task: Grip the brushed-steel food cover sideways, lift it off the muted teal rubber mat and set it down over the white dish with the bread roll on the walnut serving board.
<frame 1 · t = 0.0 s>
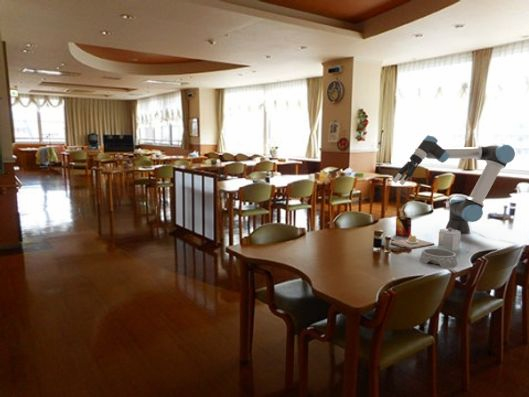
hand: (397, 183, 252), 36 cm above the table, tool tilted 35°, fingers open, 13 cm apart
walnut board: (412, 244, 235), on the table
dog bowl: (438, 262, 202), on the table
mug: (405, 236, 257), on the table
steel cover: (449, 238, 222), on the teal mat
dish: (412, 238, 234), on the walnut board, point 4 cm above the table
teal mat: (448, 249, 223), on the table
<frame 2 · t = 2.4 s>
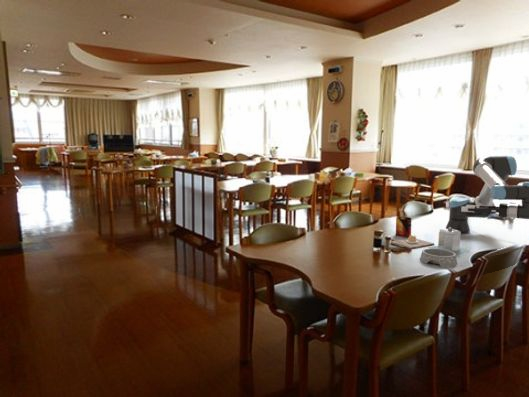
hand: (463, 208, 217), 25 cm above the table, tool horizontal, fingers open, 13 cm apart
nothing on the table moved.
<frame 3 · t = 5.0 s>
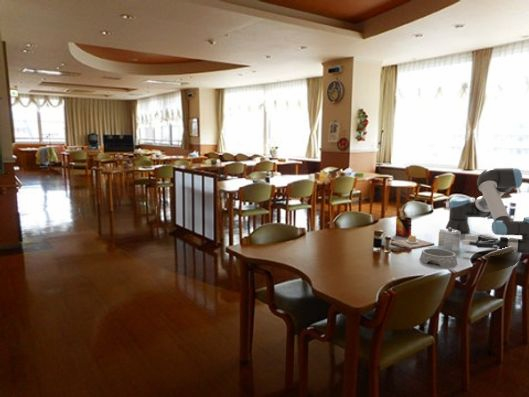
hand: (464, 239, 218), 7 cm above the table, tool horizontal, fingers open, 13 cm apart
nothing on the table moved.
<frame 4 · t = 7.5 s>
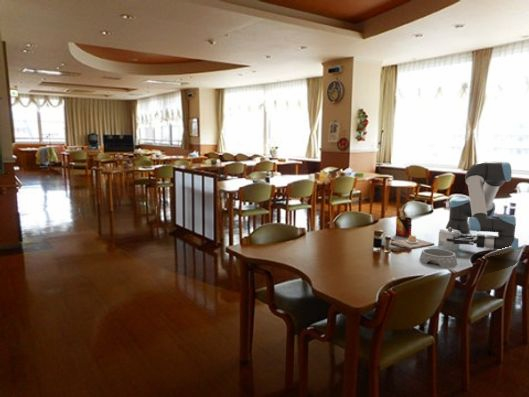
hand: (442, 236, 224), 7 cm above the table, tool horizontal, fingers closed on steel cover, 11 cm apart
steel cover: (449, 238, 222), on the teal mat, touching gripper
everything else where it was.
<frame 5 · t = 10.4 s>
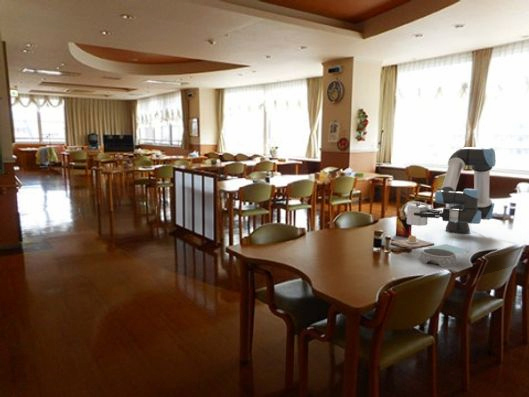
hand: (410, 211, 232), 21 cm above the table, tool horizontal, fingers closed on steel cover, 11 cm apart
steel cover: (417, 213, 230), point 20 cm above the table, touching gripper
everything else where it was.
when the fingers open (10 cm above the table, at t = 13.3 s): steel cover drops 1 cm, resting on walnut board.
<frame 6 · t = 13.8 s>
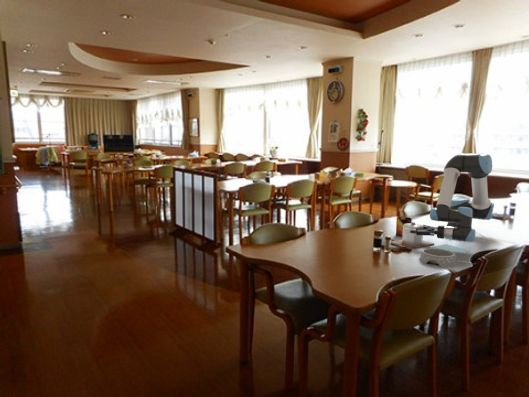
hand: (407, 228, 235), 10 cm above the table, tool horizontal, fingers open, 13 cm apart
steel cover: (412, 232, 233), on the walnut board, point 8 cm above the table
everything else where it was.
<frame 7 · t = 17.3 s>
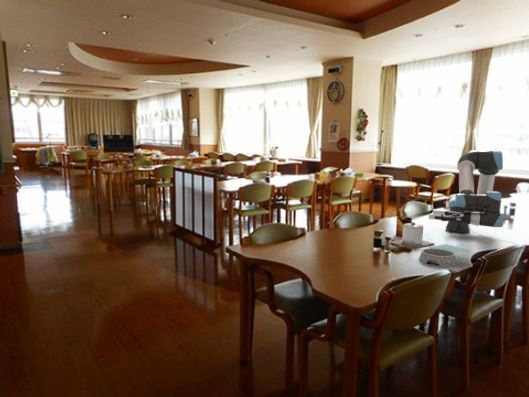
hand: (430, 214, 226), 20 cm above the table, tool horizontal, fingers open, 13 cm apart
nothing on the table moved.
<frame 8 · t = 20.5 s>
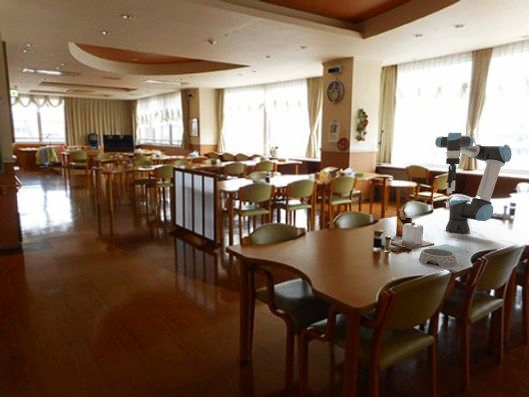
hand: (450, 192, 237), 32 cm above the table, tool pointing down, fingers open, 13 cm apart
nothing on the table moved.
at the end: steel cover 0.1 cm from the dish (horizontally); steel cover point 7.9 cm above the table; steel cover tilted 0° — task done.
